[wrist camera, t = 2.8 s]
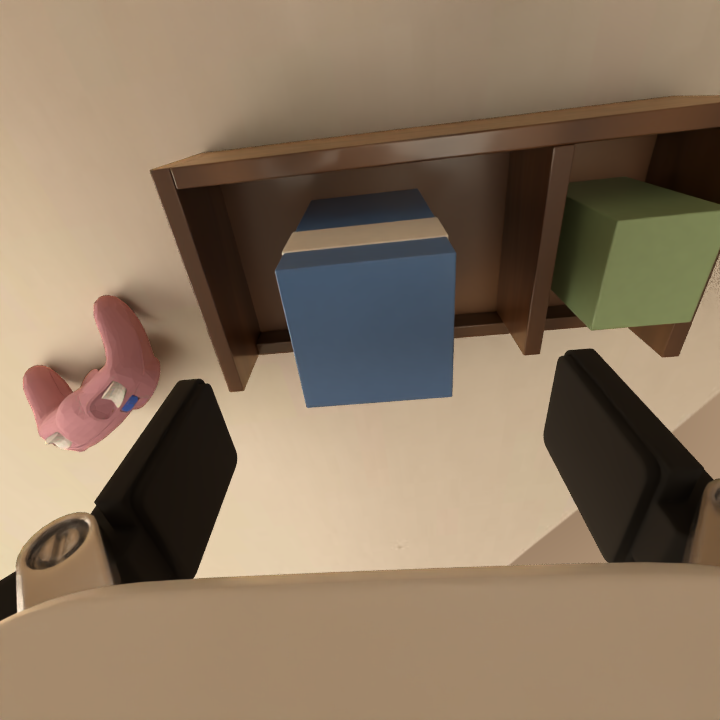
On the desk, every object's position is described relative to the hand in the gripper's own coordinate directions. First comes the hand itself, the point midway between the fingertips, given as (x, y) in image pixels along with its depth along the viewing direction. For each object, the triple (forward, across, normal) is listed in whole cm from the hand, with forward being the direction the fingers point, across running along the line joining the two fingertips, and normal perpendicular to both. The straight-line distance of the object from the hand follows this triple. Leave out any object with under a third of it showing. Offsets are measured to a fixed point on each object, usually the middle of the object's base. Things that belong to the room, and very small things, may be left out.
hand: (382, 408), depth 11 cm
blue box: (+13, 0, 0) cm, 13 cm away
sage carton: (+13, -11, 0) cm, 17 cm away
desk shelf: (+14, -3, 0) cm, 14 cm away
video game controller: (+14, +18, +6) cm, 24 cm away
